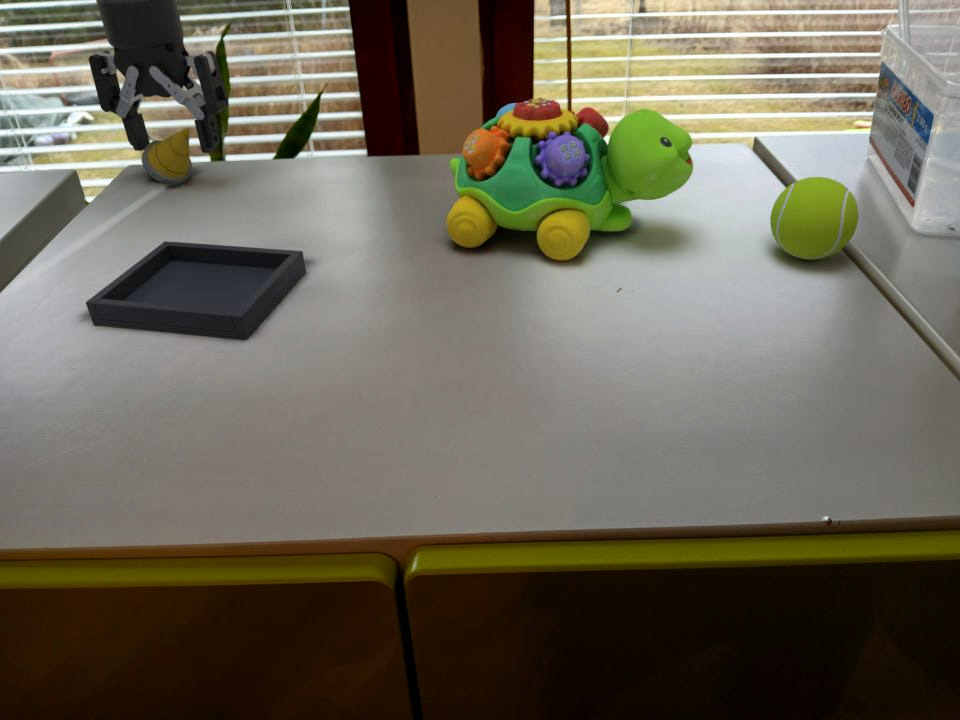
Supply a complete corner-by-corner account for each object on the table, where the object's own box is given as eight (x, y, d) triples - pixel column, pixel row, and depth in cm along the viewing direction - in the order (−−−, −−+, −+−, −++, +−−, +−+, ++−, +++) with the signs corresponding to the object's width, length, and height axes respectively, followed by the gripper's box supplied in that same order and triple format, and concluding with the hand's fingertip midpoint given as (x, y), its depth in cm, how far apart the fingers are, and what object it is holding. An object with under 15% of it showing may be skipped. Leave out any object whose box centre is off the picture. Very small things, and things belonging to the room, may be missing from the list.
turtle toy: (670, 281, 67) (685, 144, 60) (418, 248, 74) (408, 122, 68) (696, 206, 80) (711, 87, 74) (480, 184, 87) (477, 74, 81)
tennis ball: (853, 247, 71) (871, 171, 67) (842, 279, 66) (861, 200, 62) (773, 233, 74) (786, 160, 70) (756, 264, 69) (769, 187, 65)
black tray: (92, 324, 64) (84, 302, 63) (170, 261, 73) (164, 240, 72) (246, 339, 61) (241, 316, 60) (306, 272, 71) (302, 250, 70)
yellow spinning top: (185, 172, 95) (217, 123, 88) (174, 206, 92) (206, 157, 85) (140, 151, 92) (170, 98, 85) (127, 184, 89) (157, 132, 83)
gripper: (216, -14, 82) (249, 141, 90) (96, -13, 85) (139, 137, 94) (177, -1, 75) (216, 163, 84) (49, 0, 79) (100, 159, 87)
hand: (175, 149), depth 89 cm, fingers open, 8 cm apart
